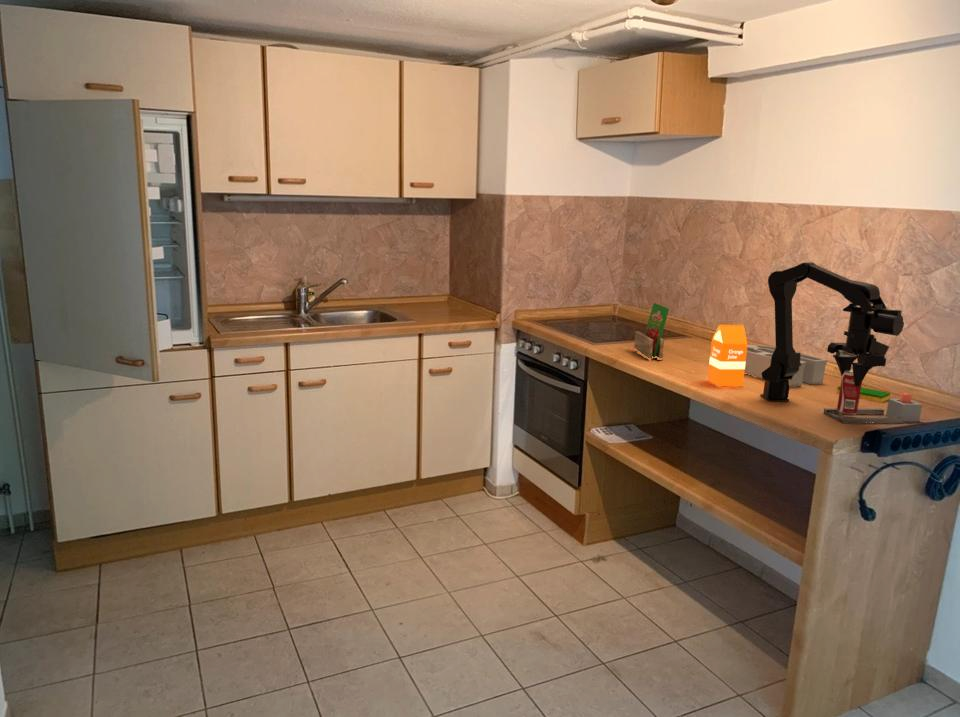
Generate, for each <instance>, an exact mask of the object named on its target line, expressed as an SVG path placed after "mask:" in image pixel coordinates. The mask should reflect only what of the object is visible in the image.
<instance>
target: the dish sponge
mask: <svg viewBox="0 0 960 717" xmlns="http://www.w3.org/2000/svg"><path fill="white" fill-rule="evenodd" d="M840 386H841V385H840ZM840 386H837V387H836V394H838V393H840ZM890 397H891V393H890V392H887V391H882V390H877V389H872V388H868V387H863V386H861V392H860V398H859V399H862V398H863V399H862V400H867V399H868V401H871V400H872V401H873V402H876V401H877V402H876V403H884V402H886V401H889V399H891V398H890Z"/></svg>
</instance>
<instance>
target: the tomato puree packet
mask: <svg viewBox="0 0 960 717" xmlns="http://www.w3.org/2000/svg"><path fill="white" fill-rule="evenodd" d="M669 311H670V308H669V307H666V306H662V305H661V304H658V303H656V302H653V303H652V307H651V310H650V314H649V318H648V321H647V325H646V328H645V331H644V333H643V334H644V335H646V336H647V337H649V338H651V339H653V349H652V356H653V357H655V356H656V353H657V349H658V346H659V343H660V339H662V336H663V333H664V332H663V331H664V330H665V325H666V322H667V317H668V314H669Z"/></svg>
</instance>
